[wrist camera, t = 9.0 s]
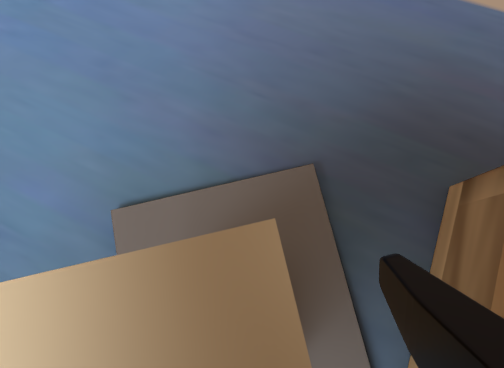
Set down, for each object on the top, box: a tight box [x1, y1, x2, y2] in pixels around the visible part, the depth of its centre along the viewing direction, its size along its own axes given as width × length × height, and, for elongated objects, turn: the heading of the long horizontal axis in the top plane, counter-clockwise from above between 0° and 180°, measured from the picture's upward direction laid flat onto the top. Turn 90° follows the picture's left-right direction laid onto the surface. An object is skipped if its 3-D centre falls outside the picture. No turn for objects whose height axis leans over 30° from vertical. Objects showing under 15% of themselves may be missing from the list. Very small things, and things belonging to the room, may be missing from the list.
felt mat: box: [111, 164, 370, 368], centre depth 16 cm, size 10×10×1 cm
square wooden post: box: [0, 218, 312, 368], centre depth 9 cm, size 4×5×12 cm
